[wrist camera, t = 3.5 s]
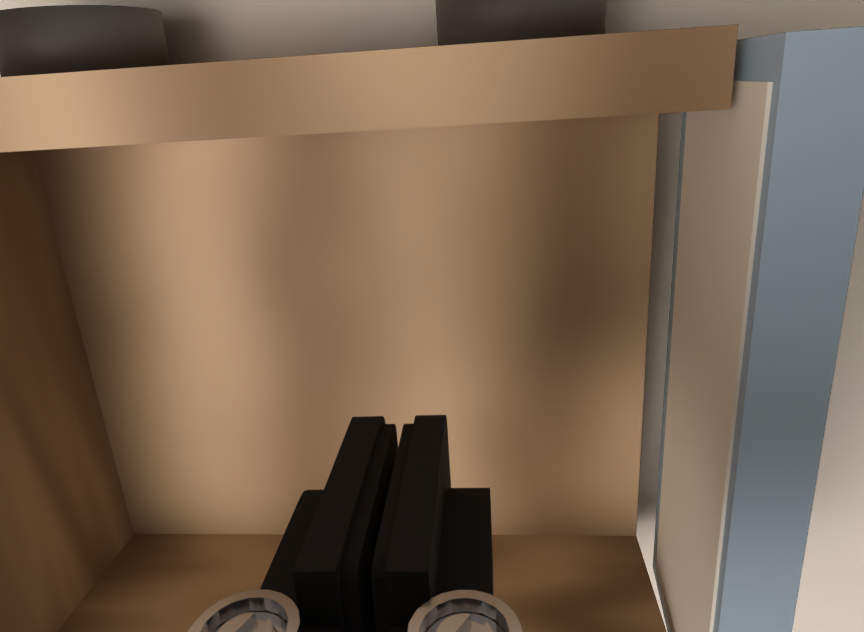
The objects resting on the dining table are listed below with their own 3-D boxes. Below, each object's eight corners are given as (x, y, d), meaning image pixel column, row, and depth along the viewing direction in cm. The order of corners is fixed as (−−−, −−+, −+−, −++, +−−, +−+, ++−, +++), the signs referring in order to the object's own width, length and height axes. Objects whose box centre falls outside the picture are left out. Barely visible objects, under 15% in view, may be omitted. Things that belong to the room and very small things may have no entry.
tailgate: (747, 44, 14) (890, 24, 8) (697, 568, 18) (766, 786, 13) (684, 48, 14) (781, 32, 8) (650, 566, 18) (698, 779, 13)
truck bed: (645, -21, 15) (794, -113, 8) (619, 561, 21) (691, 830, 13) (9, 29, 17) (-375, -7, 9) (146, 557, 23) (-24, 796, 15)
